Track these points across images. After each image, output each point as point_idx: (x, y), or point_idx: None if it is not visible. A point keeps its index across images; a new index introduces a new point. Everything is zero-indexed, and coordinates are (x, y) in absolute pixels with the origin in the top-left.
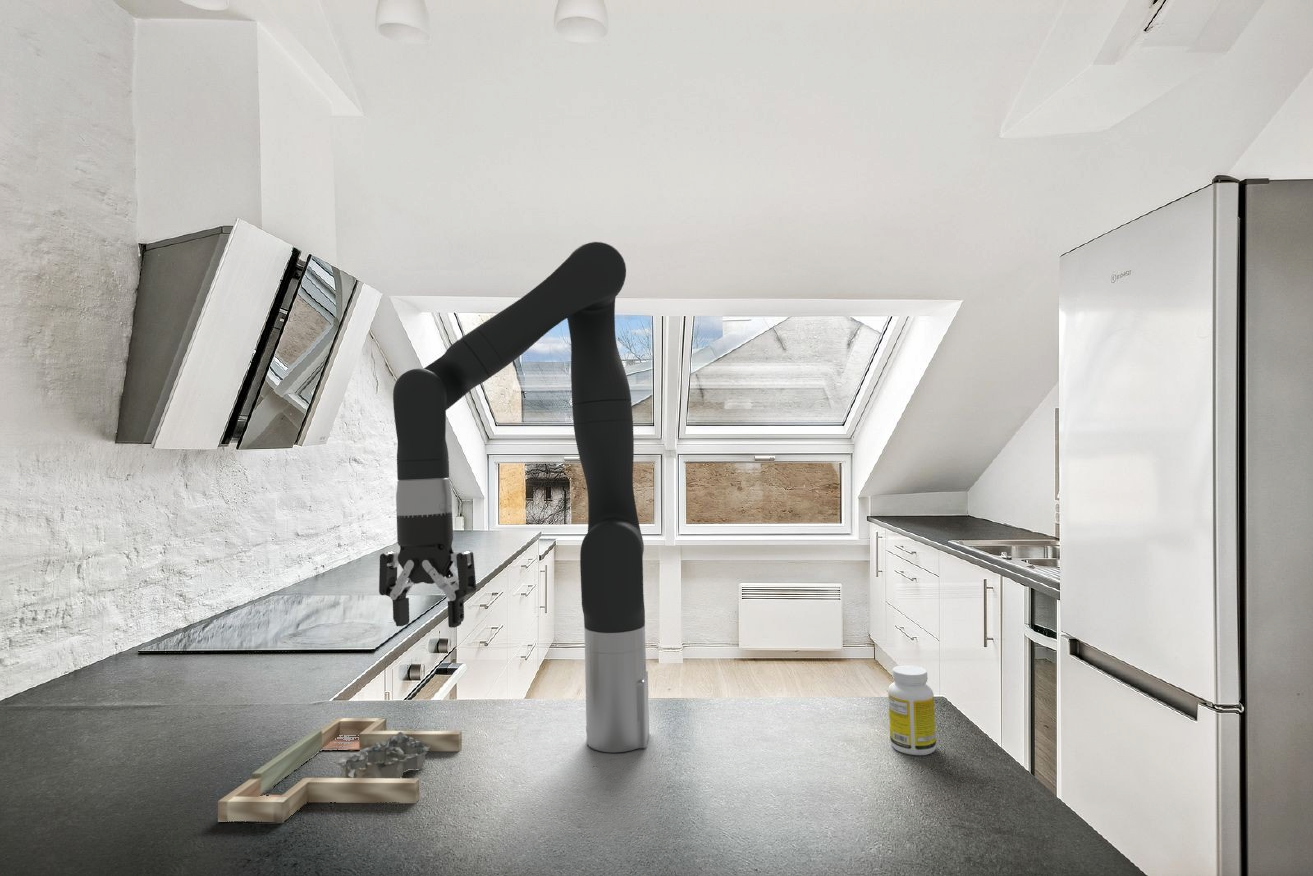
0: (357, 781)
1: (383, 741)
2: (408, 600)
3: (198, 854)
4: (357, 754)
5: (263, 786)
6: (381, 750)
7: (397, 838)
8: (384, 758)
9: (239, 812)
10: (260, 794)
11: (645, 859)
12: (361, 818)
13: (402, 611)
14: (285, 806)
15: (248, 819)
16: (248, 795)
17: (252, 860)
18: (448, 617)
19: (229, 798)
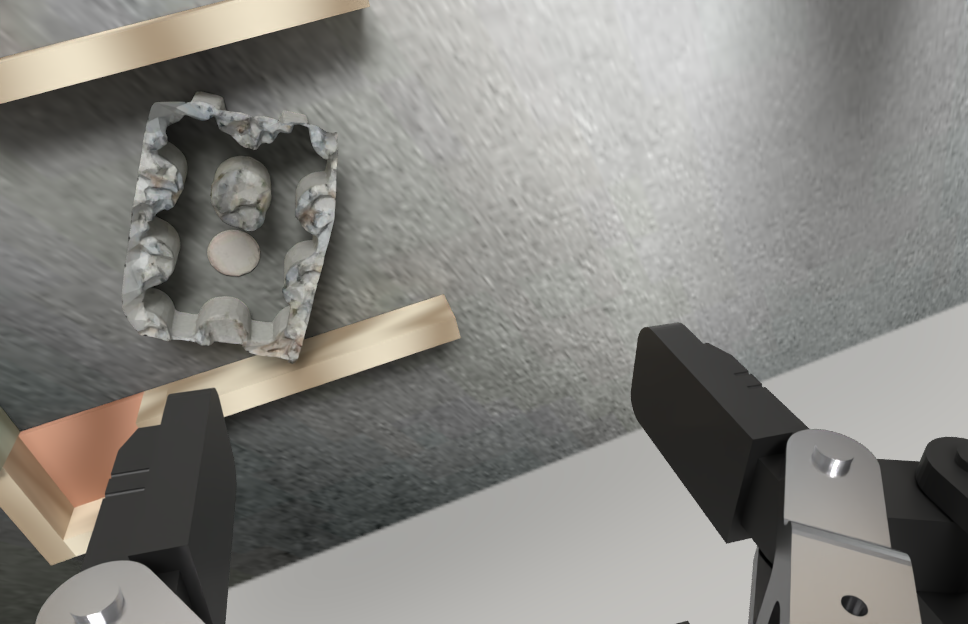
0: (307, 385)
1: (146, 172)
2: (190, 524)
3: None
4: (131, 260)
5: (6, 439)
6: (176, 199)
7: (500, 415)
8: (184, 181)
9: None
10: (18, 438)
11: (913, 310)
12: (374, 397)
13: (224, 533)
14: None
15: None
16: (40, 488)
17: (293, 551)
18: (665, 454)
19: (63, 549)
